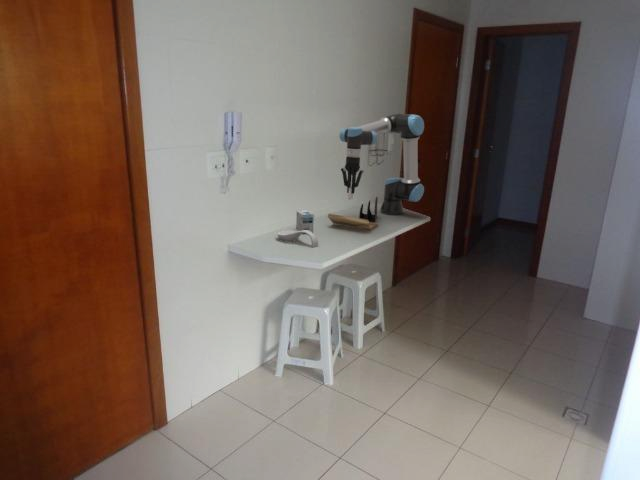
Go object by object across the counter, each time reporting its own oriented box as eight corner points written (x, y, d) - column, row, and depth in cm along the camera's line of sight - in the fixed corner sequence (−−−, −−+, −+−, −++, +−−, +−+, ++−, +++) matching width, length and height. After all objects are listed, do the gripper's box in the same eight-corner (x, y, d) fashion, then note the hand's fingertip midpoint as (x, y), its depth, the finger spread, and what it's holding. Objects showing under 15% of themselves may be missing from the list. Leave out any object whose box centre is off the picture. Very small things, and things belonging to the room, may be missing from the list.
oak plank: (333, 223, 275) (334, 220, 275) (371, 230, 265) (372, 226, 265) (327, 216, 266) (328, 213, 267) (367, 223, 256) (368, 219, 257)
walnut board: (340, 220, 285) (340, 217, 284) (377, 226, 275) (378, 223, 274) (334, 223, 277) (334, 220, 276) (372, 230, 267) (372, 226, 266)
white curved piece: (272, 239, 240) (272, 226, 238) (286, 235, 249) (287, 222, 247) (309, 249, 227) (309, 235, 225) (323, 244, 237) (323, 230, 235)
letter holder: (376, 216, 300) (378, 195, 296) (375, 224, 281) (377, 201, 277) (361, 215, 301) (362, 193, 297) (358, 222, 282) (360, 199, 278)
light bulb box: (313, 233, 255) (314, 214, 252) (301, 234, 252) (302, 214, 249) (306, 228, 264) (307, 209, 261) (295, 228, 262) (296, 210, 259)
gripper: (339, 155, 253) (336, 198, 260) (361, 158, 248) (358, 201, 255) (344, 154, 260) (342, 196, 266) (366, 157, 254) (363, 199, 261)
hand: (350, 199), depth 260 cm, fingers closed
